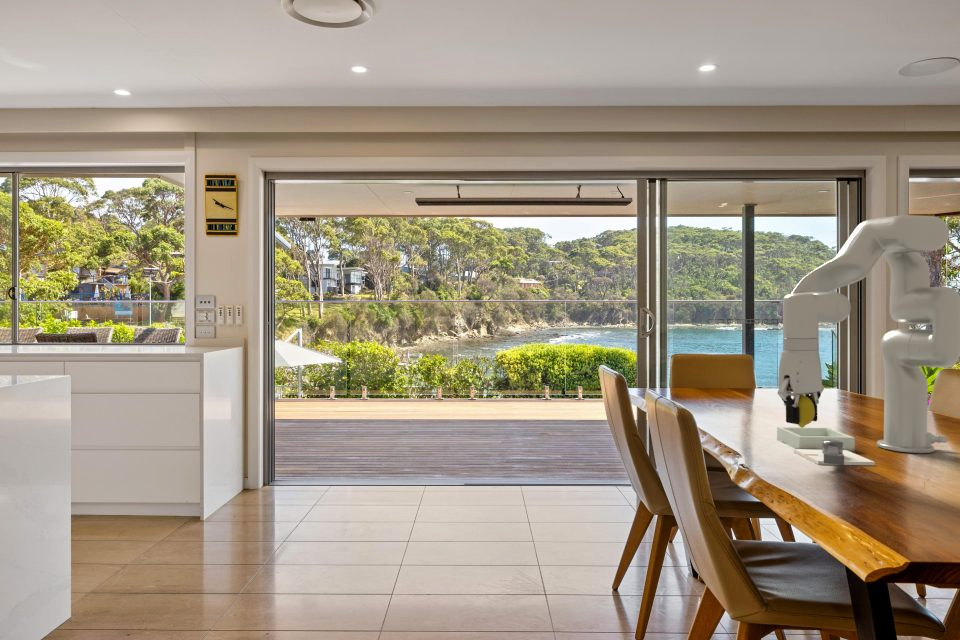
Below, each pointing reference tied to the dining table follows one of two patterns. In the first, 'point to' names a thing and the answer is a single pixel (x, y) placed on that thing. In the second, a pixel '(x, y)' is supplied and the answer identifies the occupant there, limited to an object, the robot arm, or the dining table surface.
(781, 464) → the dining table surface
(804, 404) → the lemon
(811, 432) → the tray
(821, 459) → the crank board
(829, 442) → the crank
